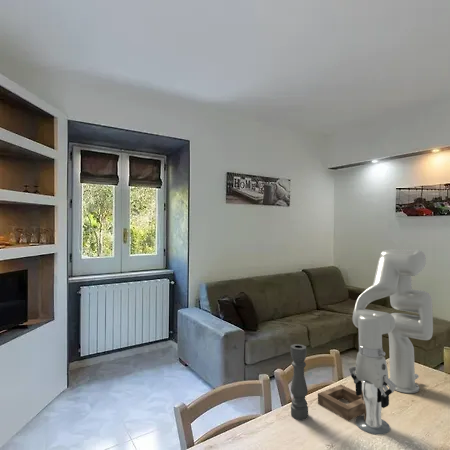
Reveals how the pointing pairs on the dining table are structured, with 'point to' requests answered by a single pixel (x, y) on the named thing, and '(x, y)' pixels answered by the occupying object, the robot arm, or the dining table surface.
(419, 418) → the dining table surface
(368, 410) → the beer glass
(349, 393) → the frame
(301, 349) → the candle holder
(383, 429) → the coaster
